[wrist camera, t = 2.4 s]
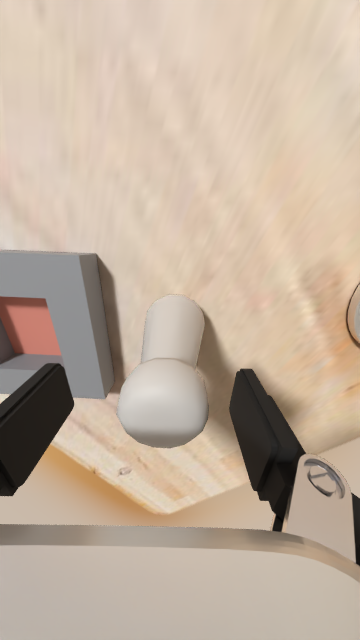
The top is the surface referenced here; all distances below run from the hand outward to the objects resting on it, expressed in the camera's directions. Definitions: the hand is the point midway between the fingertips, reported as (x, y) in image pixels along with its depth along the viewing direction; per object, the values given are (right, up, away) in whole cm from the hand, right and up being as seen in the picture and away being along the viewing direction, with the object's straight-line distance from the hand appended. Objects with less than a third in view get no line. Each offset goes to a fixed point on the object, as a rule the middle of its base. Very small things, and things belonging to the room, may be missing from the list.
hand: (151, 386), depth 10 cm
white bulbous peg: (+1, +4, +10) cm, 11 cm away
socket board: (-15, +3, +11) cm, 19 cm away
